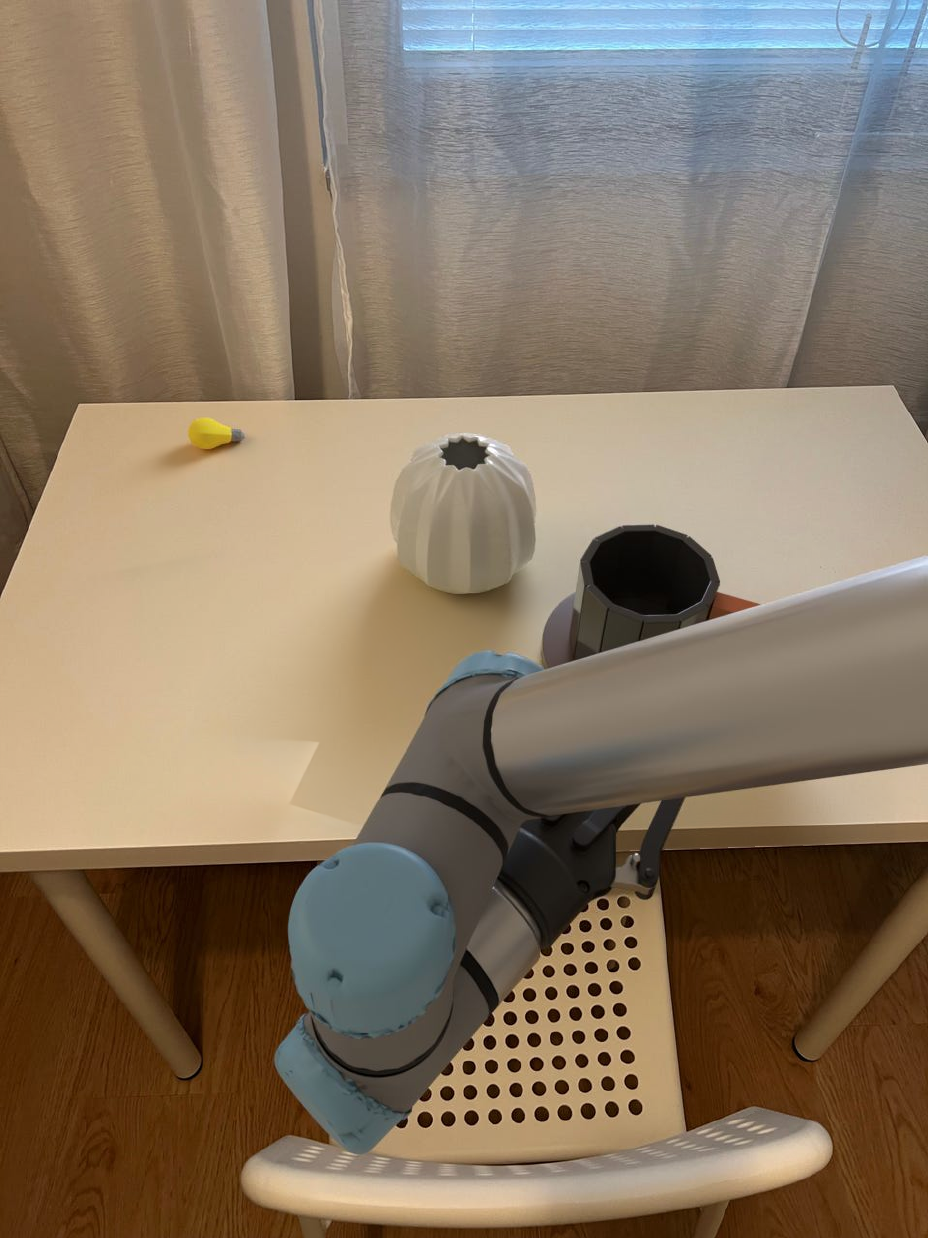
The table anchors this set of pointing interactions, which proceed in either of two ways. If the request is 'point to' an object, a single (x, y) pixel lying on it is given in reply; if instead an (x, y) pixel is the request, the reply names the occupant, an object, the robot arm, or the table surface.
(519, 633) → the table surface
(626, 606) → the mug
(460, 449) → the vase
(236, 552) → the table surface
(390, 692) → the table surface
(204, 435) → the light bulb
